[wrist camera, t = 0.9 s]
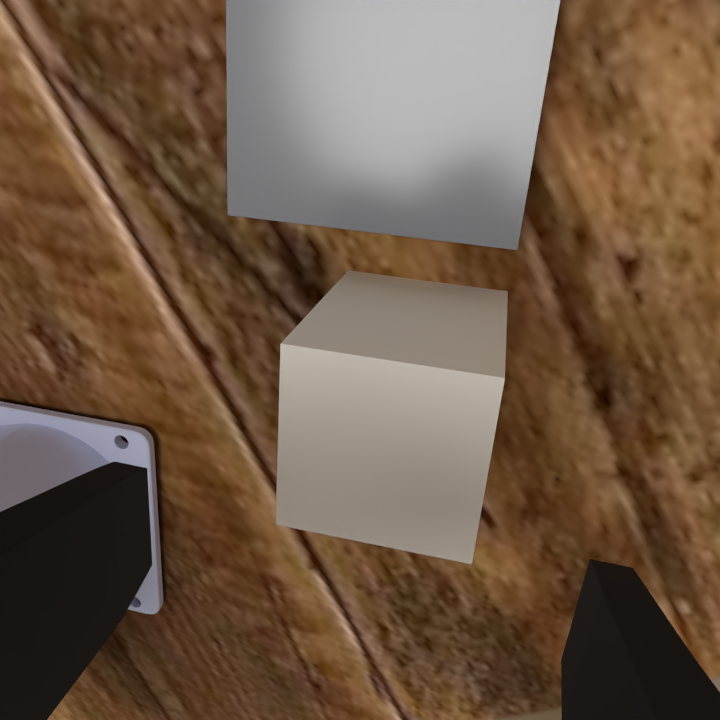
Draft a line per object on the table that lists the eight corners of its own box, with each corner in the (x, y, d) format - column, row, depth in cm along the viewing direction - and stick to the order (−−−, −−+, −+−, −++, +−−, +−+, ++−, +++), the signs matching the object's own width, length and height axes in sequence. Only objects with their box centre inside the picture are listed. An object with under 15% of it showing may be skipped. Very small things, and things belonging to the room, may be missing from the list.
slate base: (248, 205, 18) (227, 215, 17) (250, -113, 16) (225, -132, 14) (517, 237, 17) (517, 249, 16) (575, -103, 14) (581, -124, 13)
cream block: (338, 409, 20) (275, 524, 15) (348, 269, 19) (280, 343, 13) (483, 433, 20) (472, 564, 14) (508, 291, 18) (504, 378, 12)
